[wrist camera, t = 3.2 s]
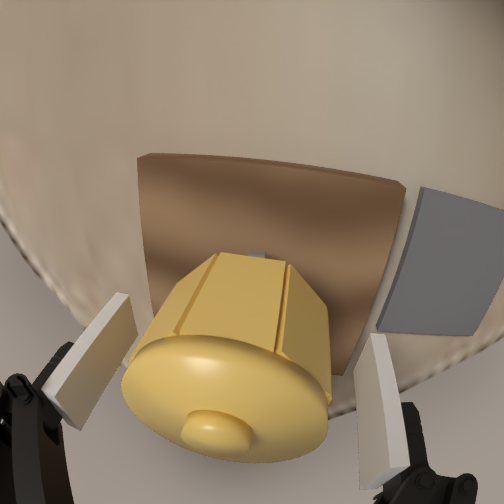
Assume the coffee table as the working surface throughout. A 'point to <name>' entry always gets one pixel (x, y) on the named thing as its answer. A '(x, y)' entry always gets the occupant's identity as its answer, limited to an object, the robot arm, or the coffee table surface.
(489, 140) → the coffee table surface
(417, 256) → the mat
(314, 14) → the coffee table surface
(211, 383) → the yellow lidded jar
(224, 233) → the post base
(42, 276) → the coffee table surface
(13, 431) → the robot arm
